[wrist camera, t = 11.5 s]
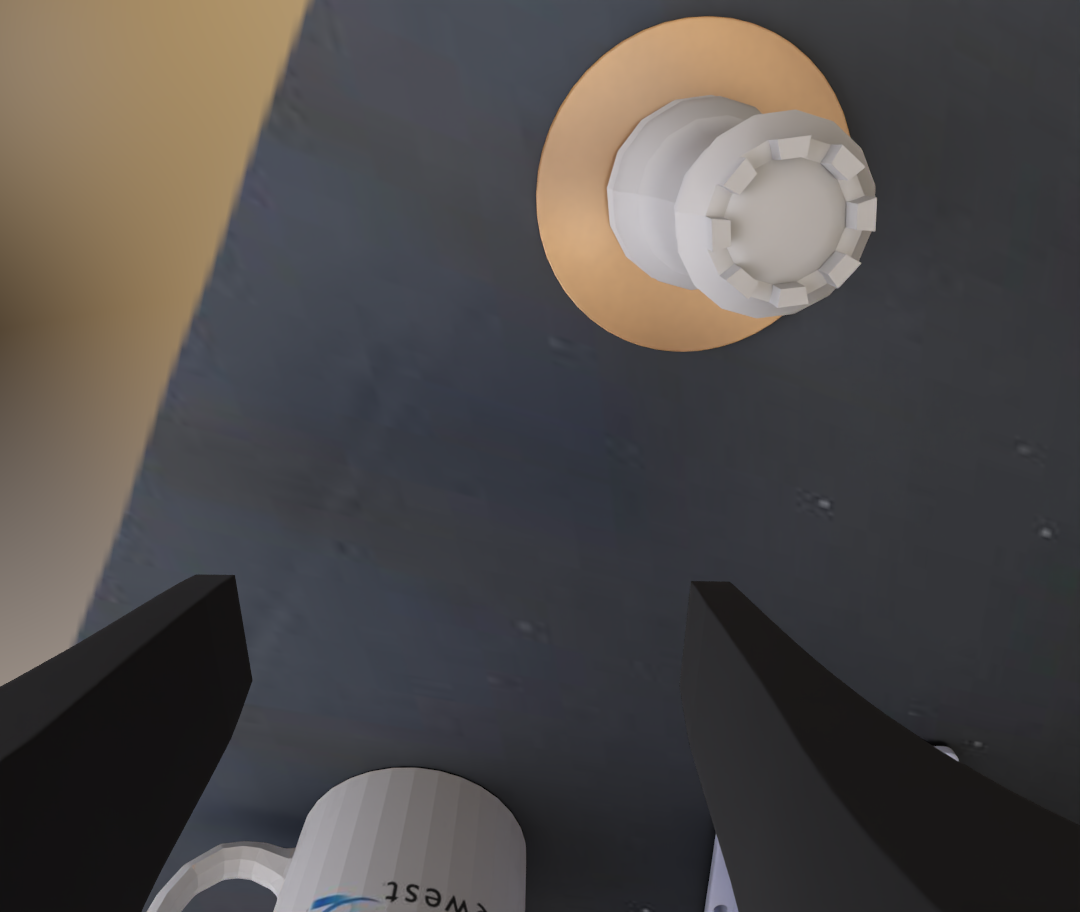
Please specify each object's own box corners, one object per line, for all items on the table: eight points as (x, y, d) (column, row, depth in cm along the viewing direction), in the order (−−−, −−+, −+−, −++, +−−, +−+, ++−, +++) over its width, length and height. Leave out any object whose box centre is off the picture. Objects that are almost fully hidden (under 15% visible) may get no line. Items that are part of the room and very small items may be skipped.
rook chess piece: (596, 277, 19) (630, 357, 12) (614, 88, 18) (668, 46, 10) (764, 289, 20) (899, 376, 12) (799, 103, 18) (982, 72, 10)
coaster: (820, 350, 21) (825, 354, 20) (534, 346, 21) (534, 350, 20) (875, 21, 17) (882, 18, 17) (538, 15, 17) (538, 12, 17)
